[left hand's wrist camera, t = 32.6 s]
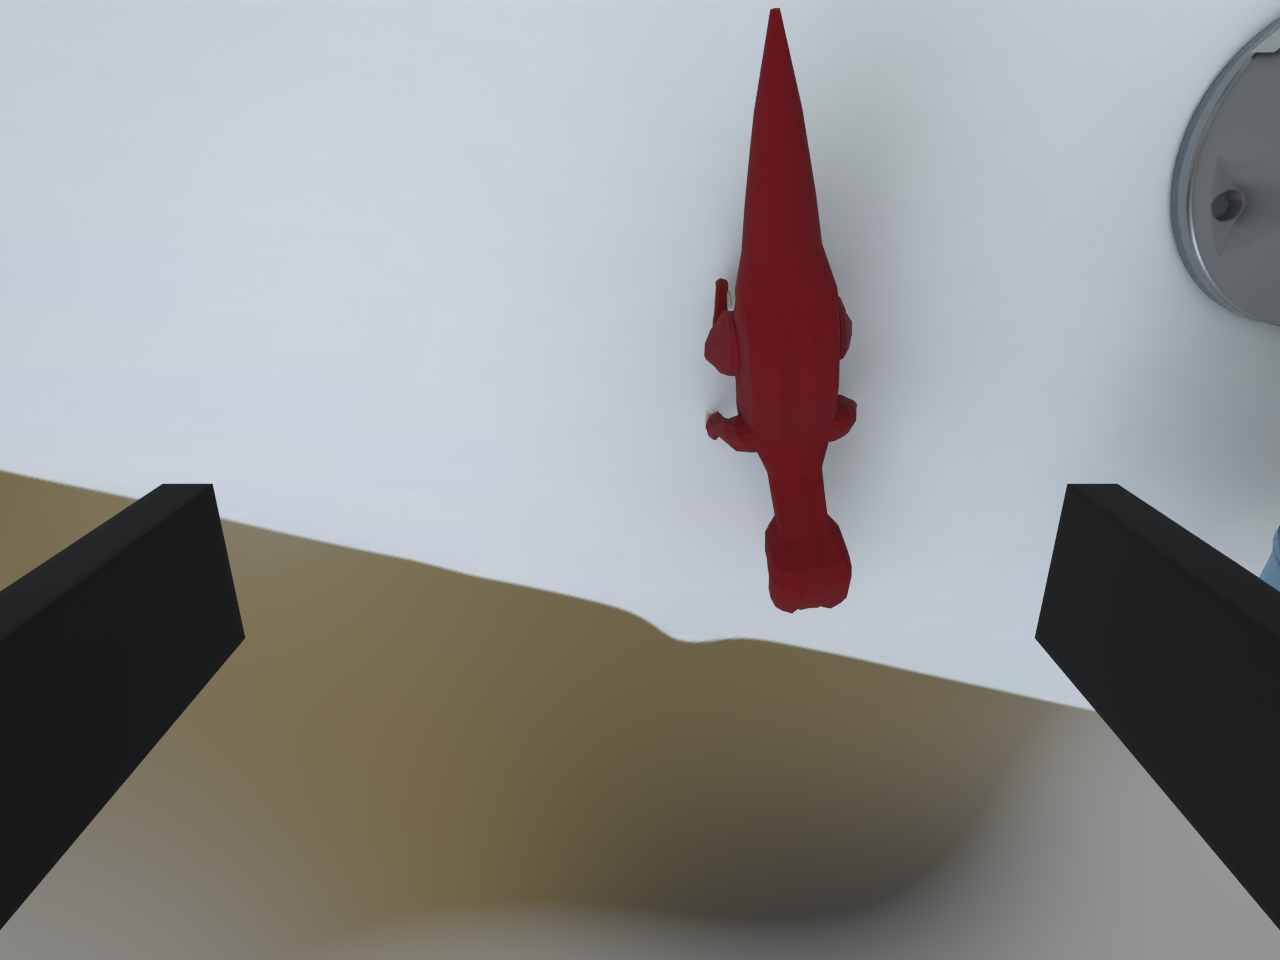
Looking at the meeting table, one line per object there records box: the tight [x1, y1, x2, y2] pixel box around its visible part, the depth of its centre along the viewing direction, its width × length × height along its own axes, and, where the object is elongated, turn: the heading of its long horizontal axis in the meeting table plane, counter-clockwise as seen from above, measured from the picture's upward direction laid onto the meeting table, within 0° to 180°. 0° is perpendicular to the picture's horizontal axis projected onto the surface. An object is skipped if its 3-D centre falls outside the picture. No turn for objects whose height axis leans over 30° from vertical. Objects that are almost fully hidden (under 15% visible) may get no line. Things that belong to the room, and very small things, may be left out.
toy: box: [704, 8, 857, 613], centre depth 36 cm, size 7×27×11 cm, turn 9°
